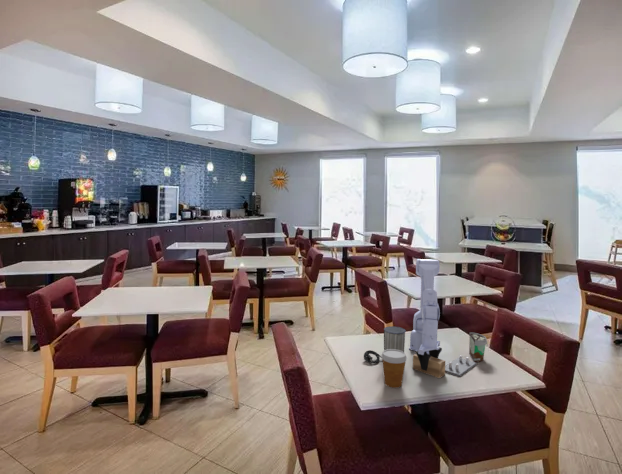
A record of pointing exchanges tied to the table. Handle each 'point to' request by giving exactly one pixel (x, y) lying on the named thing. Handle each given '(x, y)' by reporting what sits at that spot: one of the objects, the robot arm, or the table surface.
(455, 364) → the peg plate
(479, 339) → the food container
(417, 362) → the shelf block
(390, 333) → the milk frother
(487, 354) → the table surface
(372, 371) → the table surface
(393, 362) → the disposable coffee cup
